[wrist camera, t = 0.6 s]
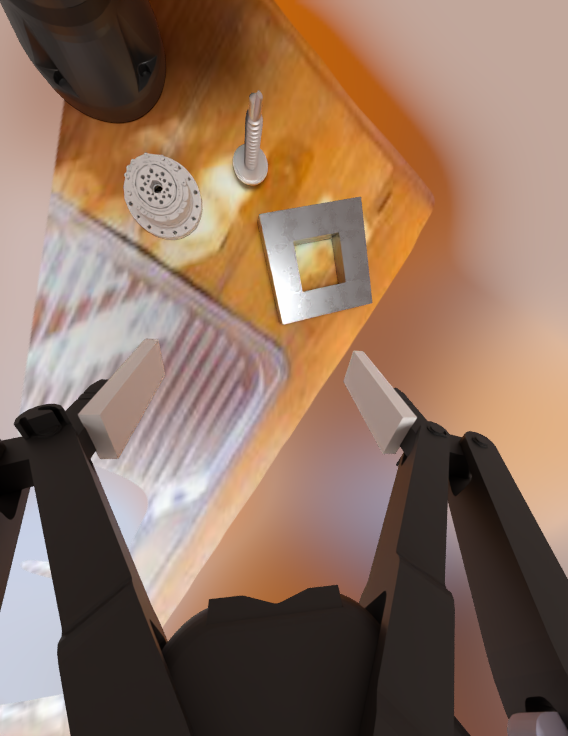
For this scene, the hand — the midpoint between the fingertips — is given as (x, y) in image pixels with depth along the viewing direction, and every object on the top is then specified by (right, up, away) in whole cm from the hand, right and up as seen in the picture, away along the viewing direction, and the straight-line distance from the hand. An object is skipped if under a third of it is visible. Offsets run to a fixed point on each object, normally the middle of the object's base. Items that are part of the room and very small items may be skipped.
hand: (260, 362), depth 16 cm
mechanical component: (-15, +24, +17) cm, 33 cm away
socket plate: (+7, +17, +23) cm, 29 cm away
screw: (-4, +29, +18) cm, 34 cm away
